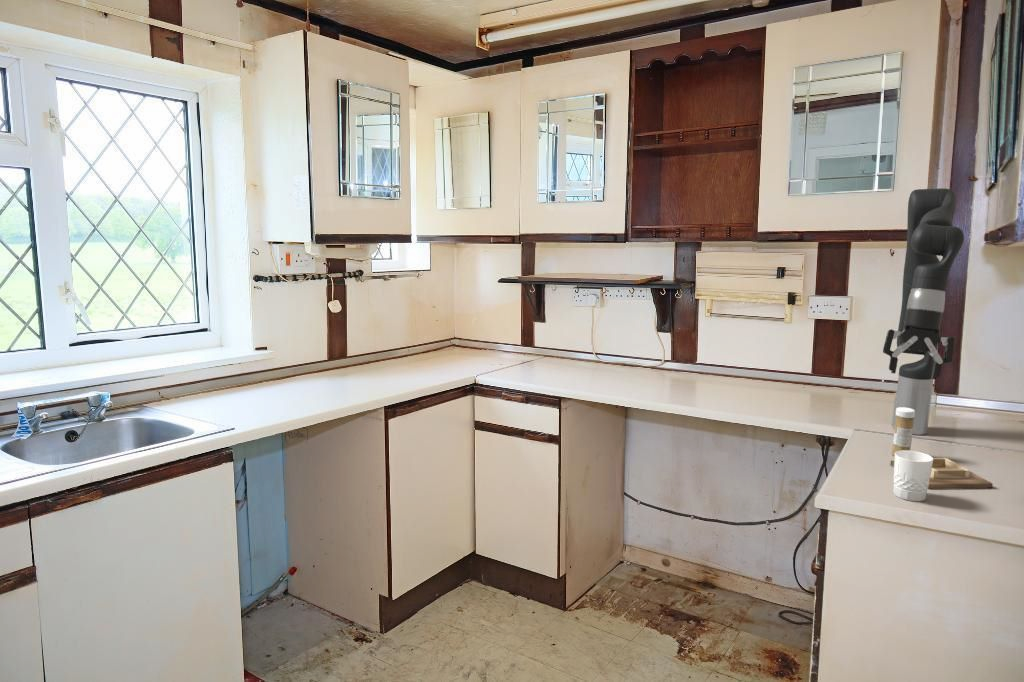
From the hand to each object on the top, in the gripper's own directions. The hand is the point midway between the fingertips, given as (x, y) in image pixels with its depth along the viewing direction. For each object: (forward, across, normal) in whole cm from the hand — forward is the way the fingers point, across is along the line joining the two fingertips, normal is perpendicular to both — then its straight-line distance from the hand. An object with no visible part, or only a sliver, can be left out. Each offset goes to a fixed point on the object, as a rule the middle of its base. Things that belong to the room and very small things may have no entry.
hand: (913, 376), depth 164 cm
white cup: (+28, -3, +2) cm, 29 cm away
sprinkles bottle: (+23, -5, -28) cm, 37 cm away
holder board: (+25, -12, -15) cm, 31 cm away
